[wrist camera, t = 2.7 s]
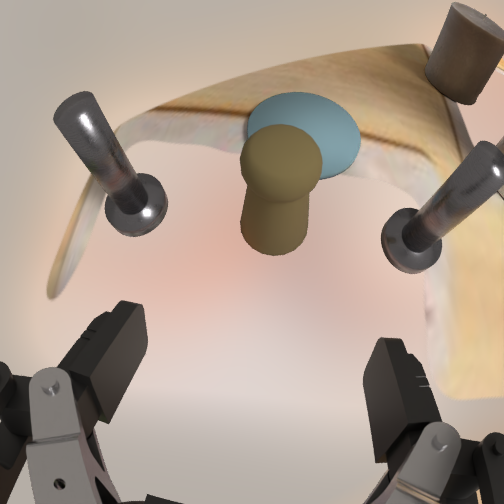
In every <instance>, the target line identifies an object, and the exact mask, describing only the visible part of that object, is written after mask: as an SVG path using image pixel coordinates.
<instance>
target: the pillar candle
mask: <svg viewBox="0 0 504 504" xmlns="http://www.w3.org/2000/svg"><path fill="white" fill-rule="evenodd" d="M486 16H487V15H486V14H485V15H483V14H482V13H480V12H478V11H477V10H475V9H473V8H471V7H469V6H467V5H464V4H460V3H457V2H454V3H452V5H451V7H450V10H449V13H448V15H447V18H446V21H445V23H444V25H443V28H442V30H441V32H440V35H439V37H438V40H437V42H436V44H435V47H434V49H433V51H432V54H431V56H430V58H429V60H428V63H427V65H426V67H425V74H426V76H427V78H428V80H429V81H430V82H431V84H432V85H433V86H435V88H437V89H438V90H439V91H440V92H441V93H443V94H444V95H446V96H448V97H449V98H451V99H452V100H454V101H456V102H458V103H460V104H464V105H472V104H474V103H475V102H476V100H477V97H478V95H479V94H480V93H481V92H482V90H483V88H484V87H485V85H486V83H487V82H488V80H489V78H490V76H491V75H492V73H493V72H494V70H495V68H496V66H497V65H498V63H499V61H500V60H501V58H502V56H503V54H504V30H503V29H502V28H500V27H499V26H498V25H497V24H496V23H495V22H493V21H492V20H491V19H489V18H488V17H486Z"/></svg>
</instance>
